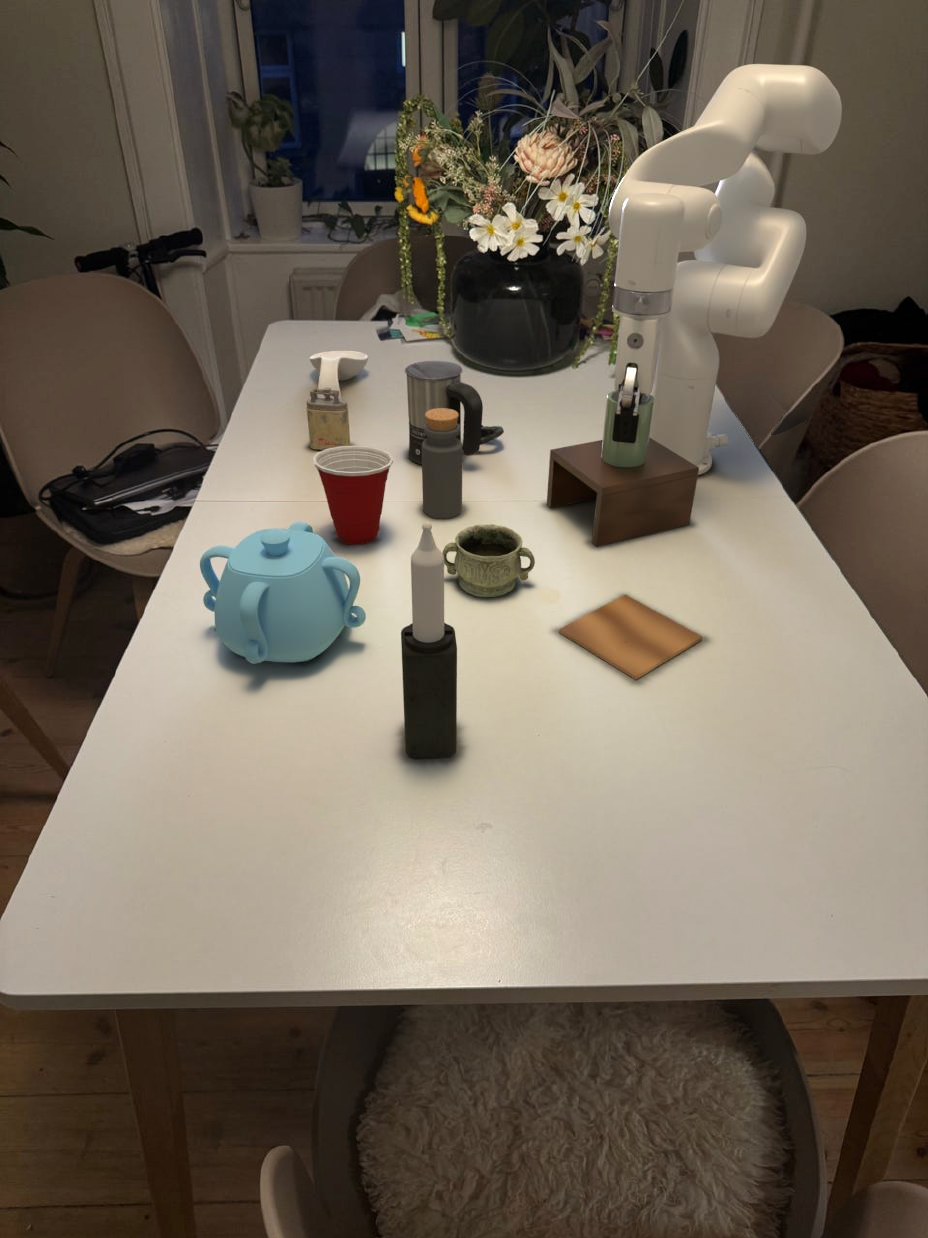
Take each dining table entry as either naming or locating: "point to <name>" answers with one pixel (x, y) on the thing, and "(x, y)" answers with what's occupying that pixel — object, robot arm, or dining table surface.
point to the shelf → (624, 490)
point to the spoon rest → (337, 368)
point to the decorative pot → (281, 595)
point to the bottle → (442, 464)
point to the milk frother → (444, 405)
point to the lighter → (327, 420)
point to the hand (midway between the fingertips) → (626, 430)
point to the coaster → (630, 636)
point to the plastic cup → (354, 489)
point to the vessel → (488, 560)
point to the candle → (429, 659)
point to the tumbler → (621, 451)
